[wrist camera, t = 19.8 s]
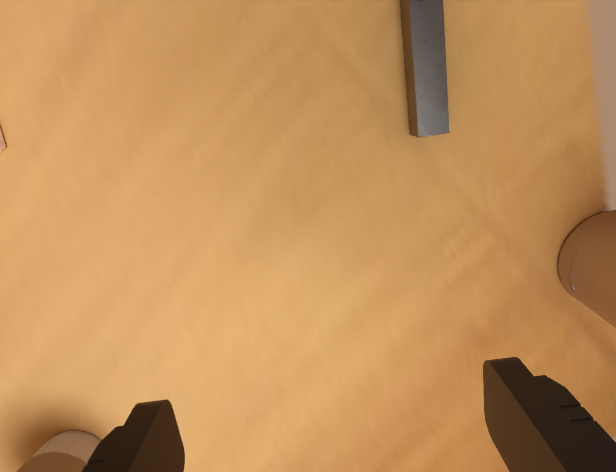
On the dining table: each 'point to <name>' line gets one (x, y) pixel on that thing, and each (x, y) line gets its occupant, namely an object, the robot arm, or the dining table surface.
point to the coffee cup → (63, 453)
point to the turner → (425, 66)
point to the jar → (2, 142)
